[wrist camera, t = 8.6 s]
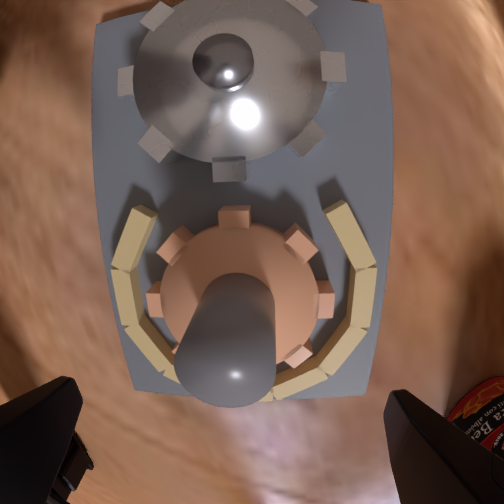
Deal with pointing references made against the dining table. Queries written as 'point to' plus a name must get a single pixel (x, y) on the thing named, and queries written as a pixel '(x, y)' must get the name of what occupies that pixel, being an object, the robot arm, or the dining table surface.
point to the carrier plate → (256, 205)
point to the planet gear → (238, 305)
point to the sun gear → (230, 81)
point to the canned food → (483, 415)
